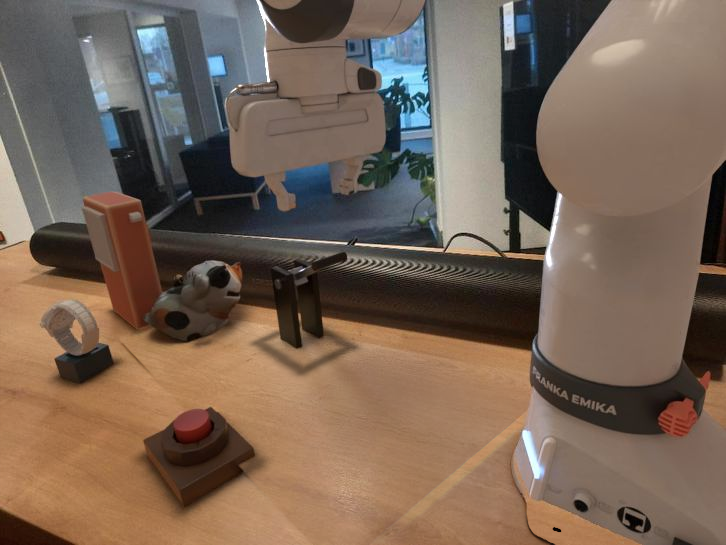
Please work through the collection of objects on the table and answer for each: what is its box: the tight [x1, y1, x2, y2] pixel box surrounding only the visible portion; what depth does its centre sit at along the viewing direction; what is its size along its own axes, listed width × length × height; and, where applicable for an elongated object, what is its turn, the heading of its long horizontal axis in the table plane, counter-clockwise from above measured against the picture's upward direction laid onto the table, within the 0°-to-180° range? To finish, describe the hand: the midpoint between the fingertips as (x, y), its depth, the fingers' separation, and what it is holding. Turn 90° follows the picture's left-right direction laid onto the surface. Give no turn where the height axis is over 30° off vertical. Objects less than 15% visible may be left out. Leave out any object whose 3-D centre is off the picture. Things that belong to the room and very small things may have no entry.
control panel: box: [81, 190, 163, 330], centre depth 85 cm, size 21×7×15 cm
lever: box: [288, 251, 348, 288], centre depth 67 cm, size 12×5×2 cm, turn 42°
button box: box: [142, 406, 256, 508], centre depth 53 cm, size 10×8×4 cm
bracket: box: [270, 258, 325, 350], centre depth 73 cm, size 12×9×13 cm
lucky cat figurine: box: [143, 260, 243, 342], centre depth 81 cm, size 15×12×14 cm
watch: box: [39, 298, 115, 384], centre depth 70 cm, size 6×8×11 cm
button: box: [173, 408, 212, 444], centre depth 52 cm, size 4×4×2 cm
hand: (319, 201), depth 60 cm, fingers open, 8 cm apart
